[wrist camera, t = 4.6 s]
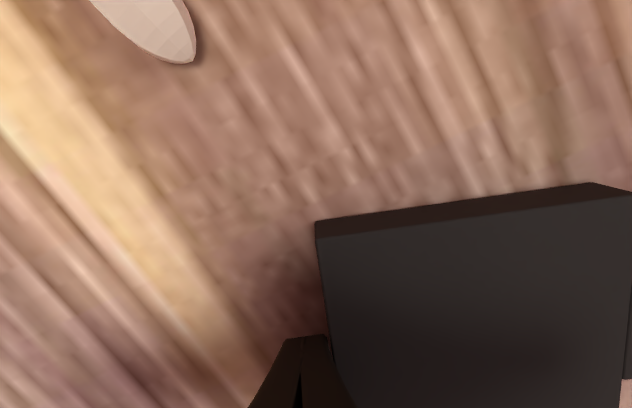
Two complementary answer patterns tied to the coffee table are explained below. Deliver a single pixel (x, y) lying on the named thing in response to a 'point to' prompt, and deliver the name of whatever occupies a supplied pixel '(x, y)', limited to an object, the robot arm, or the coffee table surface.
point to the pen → (154, 26)
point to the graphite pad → (483, 301)
